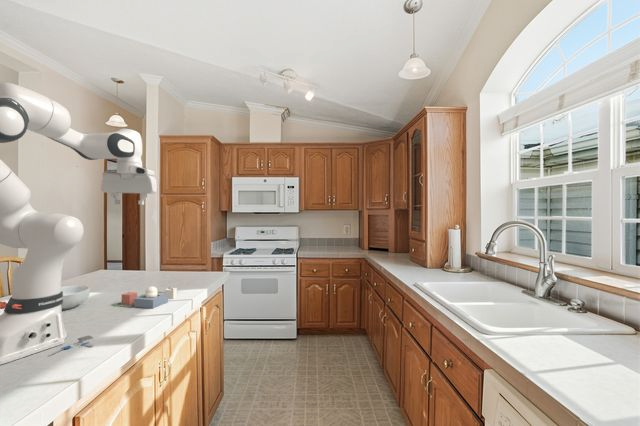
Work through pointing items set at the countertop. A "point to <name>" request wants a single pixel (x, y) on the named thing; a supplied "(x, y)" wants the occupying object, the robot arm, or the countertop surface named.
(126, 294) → the red cube
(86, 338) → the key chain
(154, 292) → the dome
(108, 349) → the countertop surface
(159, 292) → the track
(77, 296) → the cereal bowl
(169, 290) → the die
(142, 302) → the dome collar
